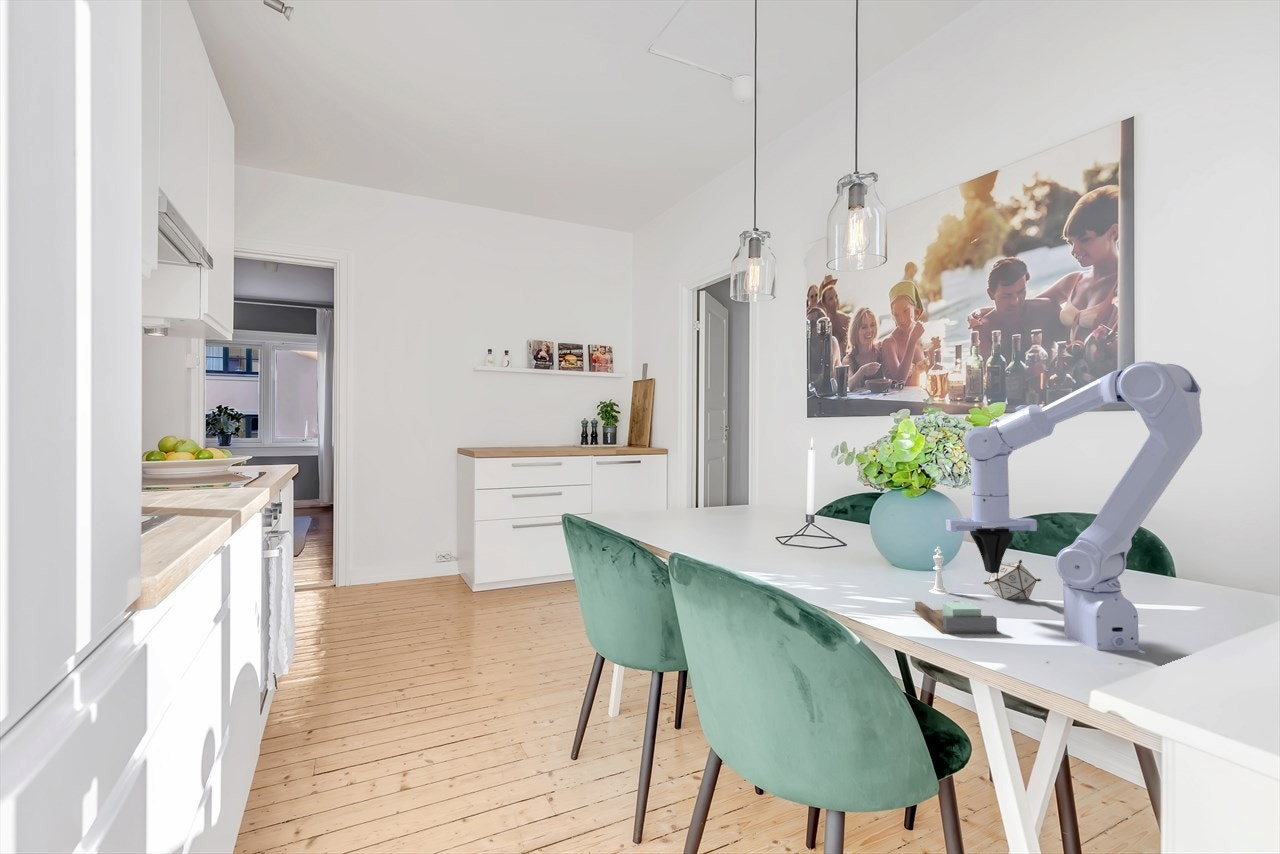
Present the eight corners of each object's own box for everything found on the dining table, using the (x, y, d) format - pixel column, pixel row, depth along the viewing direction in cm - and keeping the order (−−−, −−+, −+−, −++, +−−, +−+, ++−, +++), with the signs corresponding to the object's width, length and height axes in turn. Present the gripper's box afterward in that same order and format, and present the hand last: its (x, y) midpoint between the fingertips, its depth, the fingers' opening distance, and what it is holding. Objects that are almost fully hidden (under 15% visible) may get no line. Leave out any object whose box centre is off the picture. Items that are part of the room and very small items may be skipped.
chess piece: (938, 600, 119) (937, 549, 119) (920, 594, 124) (919, 545, 124) (959, 598, 120) (957, 548, 120) (940, 592, 125) (939, 543, 125)
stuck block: (981, 630, 98) (980, 609, 98) (953, 630, 98) (952, 609, 98) (969, 622, 102) (969, 602, 102) (942, 622, 102) (942, 602, 102)
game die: (1014, 618, 119) (1033, 574, 121) (1037, 615, 111) (1056, 568, 113) (969, 594, 121) (989, 551, 124) (988, 589, 113) (1008, 543, 116)
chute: (1001, 640, 97) (1000, 618, 97) (942, 639, 97) (942, 618, 97) (963, 615, 110) (962, 595, 110) (912, 615, 110) (911, 596, 110)
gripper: (1020, 491, 110) (1022, 566, 110) (938, 493, 111) (939, 566, 111) (1043, 496, 103) (1045, 575, 103) (955, 497, 104) (957, 576, 104)
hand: (991, 571), depth 107 cm, fingers closed
